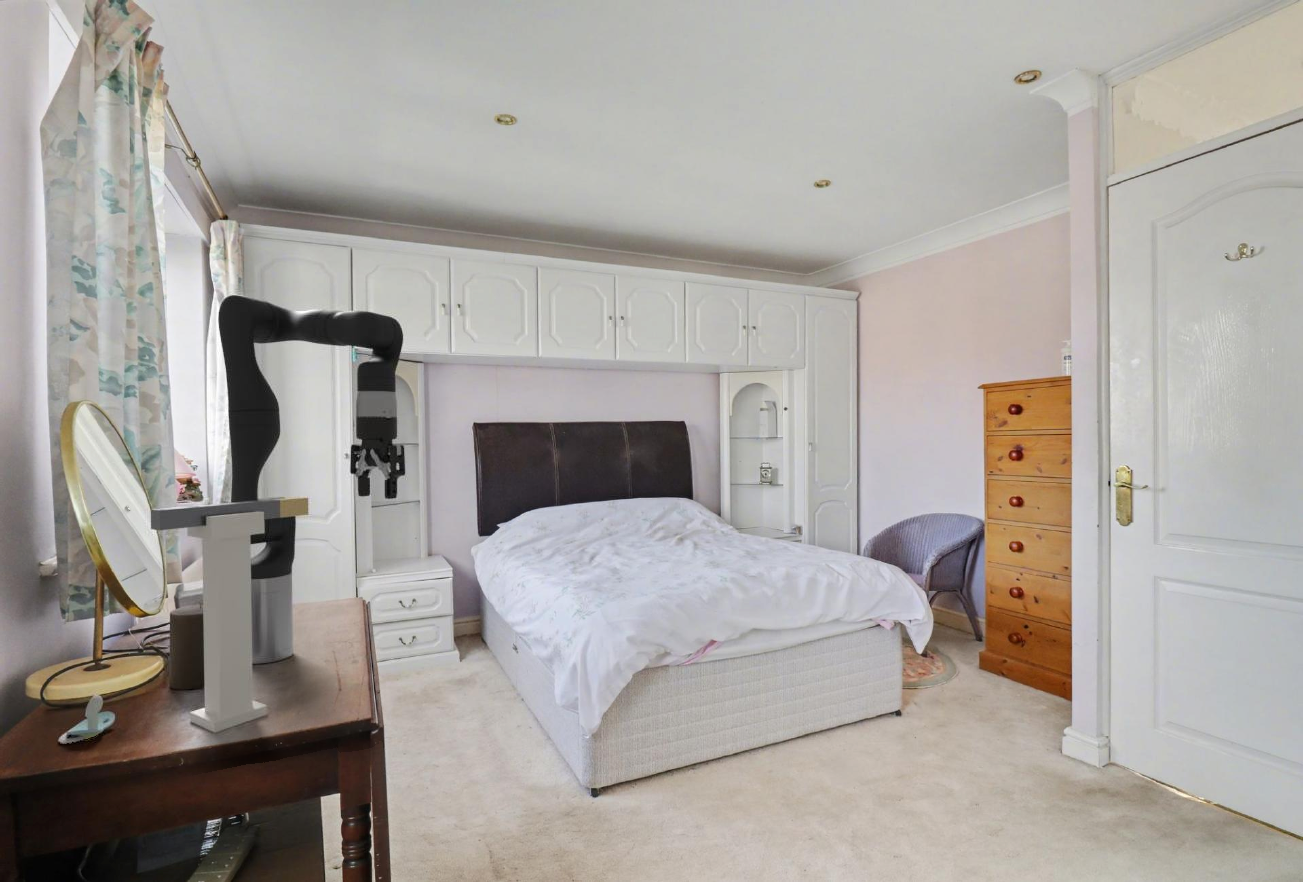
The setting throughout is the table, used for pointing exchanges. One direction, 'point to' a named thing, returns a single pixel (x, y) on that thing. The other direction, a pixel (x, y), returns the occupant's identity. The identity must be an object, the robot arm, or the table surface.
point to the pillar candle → (187, 648)
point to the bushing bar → (225, 512)
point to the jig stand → (227, 620)
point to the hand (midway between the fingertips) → (377, 497)
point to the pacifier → (90, 722)
